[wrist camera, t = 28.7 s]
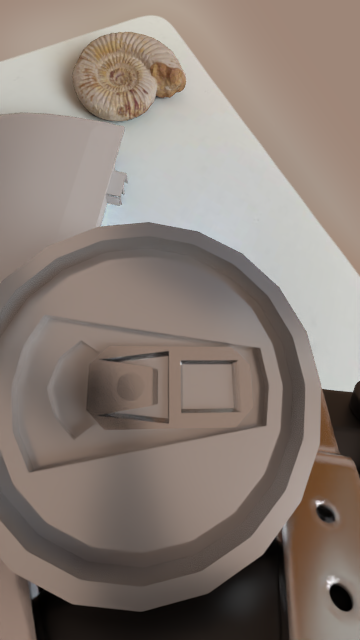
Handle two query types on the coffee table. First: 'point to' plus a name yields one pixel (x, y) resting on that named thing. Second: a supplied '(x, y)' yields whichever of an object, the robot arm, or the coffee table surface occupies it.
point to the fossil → (125, 75)
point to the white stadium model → (53, 181)
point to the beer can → (148, 416)
